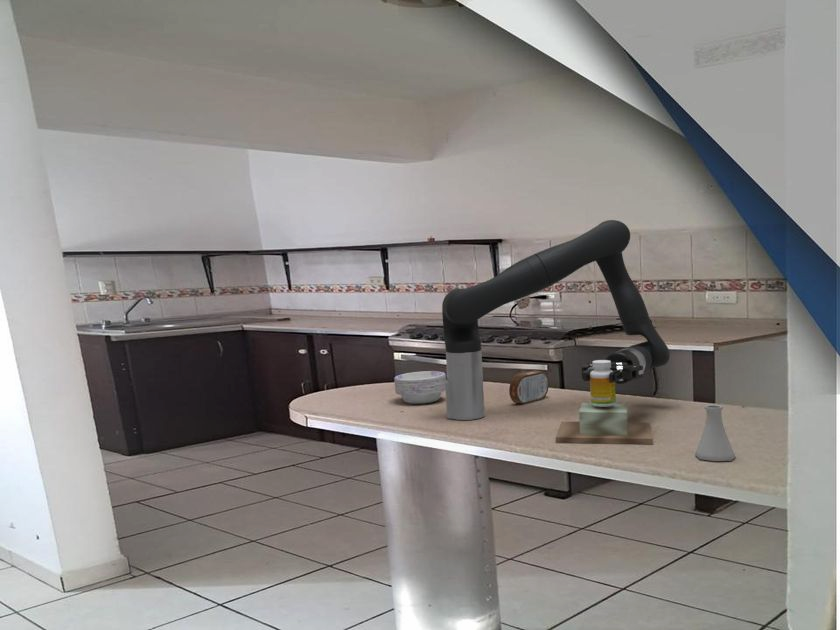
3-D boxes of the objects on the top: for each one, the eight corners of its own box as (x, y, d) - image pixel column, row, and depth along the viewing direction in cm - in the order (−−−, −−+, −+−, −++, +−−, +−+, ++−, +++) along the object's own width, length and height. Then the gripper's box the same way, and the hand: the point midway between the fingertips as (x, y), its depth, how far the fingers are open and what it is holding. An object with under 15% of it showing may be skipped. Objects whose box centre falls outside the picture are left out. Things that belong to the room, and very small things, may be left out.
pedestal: (555, 442, 152) (554, 414, 152) (561, 426, 166) (560, 400, 166) (653, 444, 146) (652, 415, 146) (650, 427, 161) (649, 400, 160)
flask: (736, 463, 130) (735, 410, 130) (694, 461, 133) (693, 409, 132) (734, 453, 137) (733, 402, 136) (694, 451, 140) (693, 402, 139)
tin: (542, 396, 204) (541, 367, 203) (551, 397, 202) (550, 368, 201) (508, 405, 194) (507, 375, 193) (517, 406, 191) (516, 376, 191)
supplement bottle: (616, 406, 153) (615, 362, 152) (591, 407, 154) (589, 363, 153) (615, 401, 158) (613, 359, 157) (590, 402, 159) (588, 359, 158)
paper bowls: (387, 400, 210) (386, 374, 210) (433, 394, 217) (432, 368, 216) (408, 408, 196) (406, 380, 196) (456, 401, 203) (454, 374, 202)
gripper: (595, 348, 171) (566, 359, 157) (654, 350, 162) (629, 361, 149) (596, 379, 171) (567, 392, 158) (655, 382, 163) (630, 396, 149)
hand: (597, 377), depth 153 cm, fingers closed on supplement bottle, 5 cm apart
